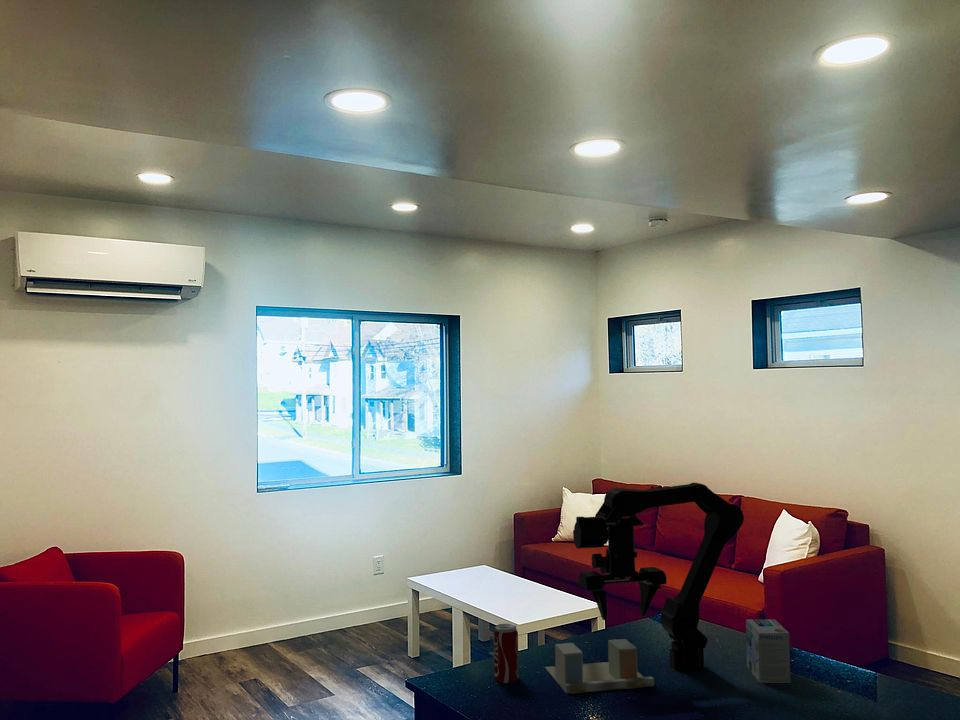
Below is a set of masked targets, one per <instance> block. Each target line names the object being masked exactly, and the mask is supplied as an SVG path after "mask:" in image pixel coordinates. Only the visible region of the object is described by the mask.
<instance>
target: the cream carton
mask: <svg viewBox="0 0 960 720" xmlns="http://www.w3.org/2000/svg"><path fill="white" fill-rule="evenodd" d="M554 646H555V647H554V648H555V649H554V651H555V652H554V653H555V654H554V655H555V666H556V678H557V679H558V681H559V682H560V683H561V684H562V686H563V687H564V688H565V684H568V683H580V682H583V664H584V663H583V662H584V660H583V659H584V656H583V655H584V653H583V651H582V650H581V649H580V648H579V647H578V646H577V645H575V643H574V642H568V643H555V644H554Z"/></svg>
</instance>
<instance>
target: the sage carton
mask: <svg viewBox="0 0 960 720" xmlns="http://www.w3.org/2000/svg"><path fill="white" fill-rule="evenodd" d="M607 646H608V647H607V650H608V653H607V654H608V657H607V659H608V662H609V674H610V675H612V676H613V677H614V678H615V679H627V678H638V675H637V671H638V648H637V647H636V646H635V645H634V644H632V643H631V642H630V641H629V640H628V639H626V638H620V639H608V642H607Z"/></svg>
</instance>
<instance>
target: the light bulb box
mask: <svg viewBox="0 0 960 720" xmlns="http://www.w3.org/2000/svg"><path fill="white" fill-rule="evenodd" d="M745 631H746V633H745V634H746V637H745V638H746V639H745V640H746V667H747V668H748V671H750V673H751V674H752V675H753V676H755V677H754V678H755V680H756V681H757V680H758V681H759V682H761V683H762V684H763V683H791V656H790V633H789V631H787V630H786V629H785V628H784V626H782V625H781V624H780V623H779V622H778V621H777V620H776V619H771V618H770V619H745ZM758 681H757V682H758ZM759 682H758V683H759ZM761 683H760V684H761Z"/></svg>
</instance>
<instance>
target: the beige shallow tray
mask: <svg viewBox="0 0 960 720" xmlns="http://www.w3.org/2000/svg"><path fill="white" fill-rule="evenodd" d="M544 668H545V669H546V670H547V672H548V673H549V675H550V676H552V678H553V679H554V680H555V681H556V682H557V684H558V685H559V686H560V688H561V689H562V690H563V692H564V693H565V694H580V693H581V694H584V693H589V692H592V693H593V692H600V691H601V692H604V691H615V690H622V689H625V690H626V689H629V690H631V689H638V688H639V689H640V688H646V687H647V688H648V687H655V678H654V677H653V676H643V675H642V674H641V673H640V672H639V671H638V670H637V675H638V678H627V679H615V678H614V677H613V676H612V675H610V674H609V661H606V662H603V661H602V662H591V663H583V682H580V683H568V684H565V688H564V687H563V686H562V684H561V683H560V682H559V681H558V679H557V678H556V665H553V666H545V667H544Z"/></svg>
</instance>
